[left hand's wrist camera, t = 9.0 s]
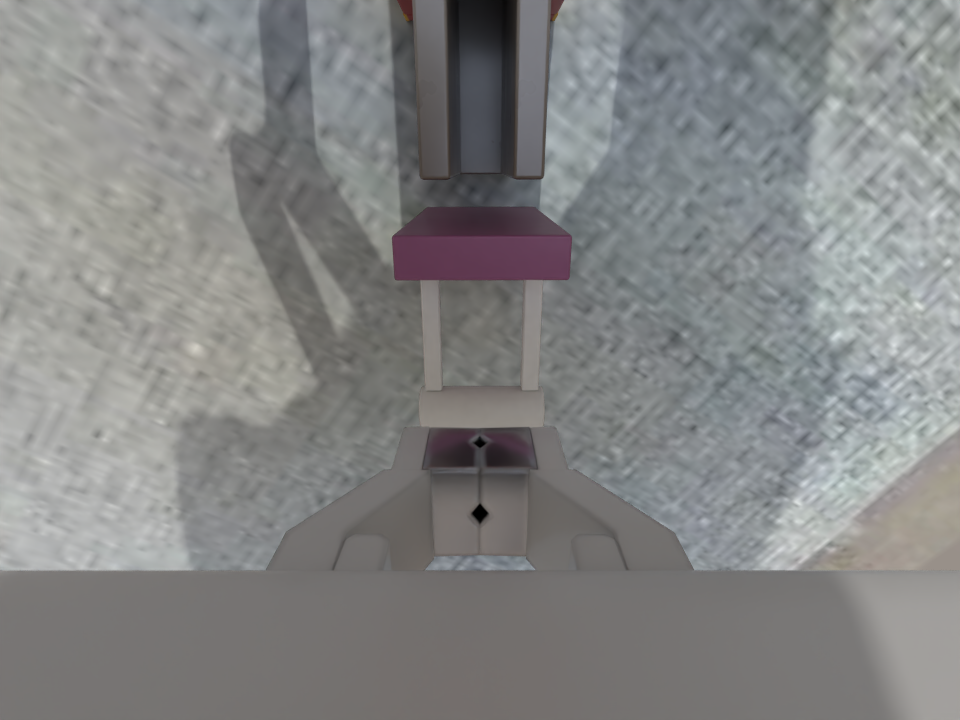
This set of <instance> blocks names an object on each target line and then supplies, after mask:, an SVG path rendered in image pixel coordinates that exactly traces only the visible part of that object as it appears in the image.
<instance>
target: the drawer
mask: <svg viewBox="0 0 960 720" xmlns="http://www.w3.org/2000/svg"><path fill="white" fill-rule="evenodd" d="M412 6H413V30H414V53H415V77H416V101H417V124H418V148H419V172H420V178H421V179H423V180H447V179H450V178H452V177H454V176H456V175H458V174H505V175H507V176H510V177H512V178H514V179H542V178H543V177H544V166H545V141H546V117H547V92H548V67H549V43H550V18H551V0H412ZM571 245H572V236H571V235H570V234H568V233H567V232H566V231H565V230H563V229H562V228H561V227H559V226H558V225H557V224H556V223H554V222H553V221H552V220H550V219H549V218H548V217H547V216H545V215H544V214H543V213H541V212H540V211H539V210H538V209H536V208H535V207H427V208H426V209H425V210H423V211H422V212H421V213H420V214H419V215H417V216H416V217H415V218H414V219H413V220H411V221H410V222H409V223H408V224H407V225H405V226H404V227H403V228H402V229H401V230H399V231H398V232H397V233H396V234H395V235H393V237H392V246H393V262H394V278H395V280H420V287H421V309H422V332H423V354H424V376H425V386H423V387H421V390H420V396H419V421H420V426H421V427H426V426H429V427H430V428H431V427H456V428H501V427H543V424H544V416H545V402H544V392H543V389H542V387H541V386H539V363H540V340H541V317H542V293H543V280H568V279H569V277H570V262H571ZM440 280H523V311H522V345H521V380H520V384H521V386H443V370H442V338H441V306H440Z"/></svg>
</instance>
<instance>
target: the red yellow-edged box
mask: <svg viewBox="0 0 960 720" xmlns="http://www.w3.org/2000/svg"><path fill="white" fill-rule="evenodd" d="M397 1H398V3H399V5H400V7H401V9H402V11H403V15H404V17H405V19H406V21H409V20H413V6H412V0H397ZM563 2H564V0H551V18H550V20H552V21H555V19H556V17H557V15H558V11H559V9H560V7H561V5H562V3H563Z"/></svg>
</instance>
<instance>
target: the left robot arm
mask: <svg viewBox="0 0 960 720" xmlns="http://www.w3.org/2000/svg"><path fill="white" fill-rule="evenodd" d="M464 555H495V556H526V559H527V560H528V561H529V562H530V564H531V565H532V566H533V567H534V568H535V570H536V571H424V570H425V569H426V568H427V566H428V565H429V564H430V563H431V562H432V560H433V559H434V556H464ZM0 720H960V571H927V570H925V571H924V570H694V569H693V567H692V565H691V563H690V561H689V559H688V557H687V555H686V554H685V552H684V550H683V548H682V546H681V544H680V542H679V540H678V538H677V537H676V535H675V533H674V532H673V531H671V530H670V529H668V528H666V527H665V526H663V525H662V524H660V523H659V522H657V521H655V520H654V519H652V518H651V517H649V516H648V515H646V514H644V513H643V512H641V511H640V510H638V509H637V508H635V507H634V506H632V505H630V504H629V503H627V502H626V501H624V500H623V499H621V498H619V497H618V496H616V495H615V494H613V493H612V492H610V491H608V490H607V489H605V488H604V487H602V486H601V485H599V484H598V483H596V482H594V481H593V480H591V479H590V478H588V477H587V476H585V475H583V474H582V473H580V472H579V471H577V470H569V469H568V466H567V462H566V459H565V456H564V452H563V449H562V446H561V442H560V439H559V436H558V432H557V429H556V428H555V427H554V426H550V427H501V428H456V427H431V428H430V427H429V426H426V427H405V428H404V429H403V432H402V435H401V438H400V442H399V445H398V449H397V452H396V455H395V459H394V462H393V466H392V469H391V470H383V471H381V472H380V473H378V474H377V475H375V476H373V477H372V478H370V479H369V480H367V481H366V482H364V483H362V484H361V485H359V486H358V487H356V488H355V489H353V490H351V491H350V492H348V493H347V494H345V495H344V496H342V497H340V498H339V499H337V500H336V501H334V502H332V503H331V504H329V505H328V506H326V507H325V508H323V509H321V510H320V511H318V512H317V513H315V514H314V515H312V516H310V517H309V518H307V519H306V520H304V521H303V522H301V523H299V524H298V525H296V526H295V527H293V528H292V529H290V530H288V531H287V532H286V533H285V535H284V537H283V539H282V541H281V543H280V545H279V546H278V548H277V550H276V552H275V554H274V556H273V558H272V559H271V561H270V563H269V565H268V567H267V569H266V571H0Z"/></svg>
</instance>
